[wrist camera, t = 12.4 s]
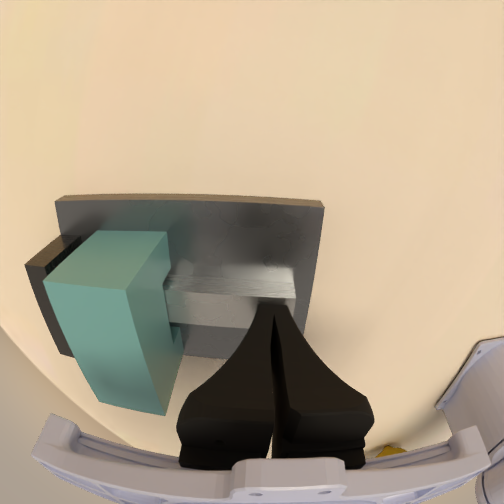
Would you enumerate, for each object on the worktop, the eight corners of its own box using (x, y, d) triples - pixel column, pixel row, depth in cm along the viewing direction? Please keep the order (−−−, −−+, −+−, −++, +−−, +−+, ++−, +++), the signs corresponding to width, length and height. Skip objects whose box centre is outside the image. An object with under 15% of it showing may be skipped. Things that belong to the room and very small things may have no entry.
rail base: (320, 200, 14) (343, 239, 10) (296, 351, 18) (301, 407, 14) (64, 195, 14) (14, 226, 10) (98, 331, 18) (71, 375, 14)
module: (166, 231, 14) (125, 290, 9) (183, 350, 17) (165, 416, 13) (97, 230, 14) (42, 280, 9) (126, 343, 17) (99, 401, 13)
